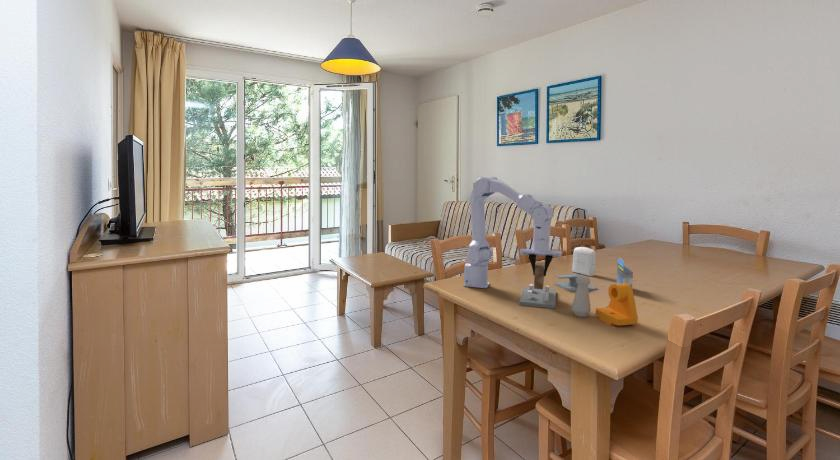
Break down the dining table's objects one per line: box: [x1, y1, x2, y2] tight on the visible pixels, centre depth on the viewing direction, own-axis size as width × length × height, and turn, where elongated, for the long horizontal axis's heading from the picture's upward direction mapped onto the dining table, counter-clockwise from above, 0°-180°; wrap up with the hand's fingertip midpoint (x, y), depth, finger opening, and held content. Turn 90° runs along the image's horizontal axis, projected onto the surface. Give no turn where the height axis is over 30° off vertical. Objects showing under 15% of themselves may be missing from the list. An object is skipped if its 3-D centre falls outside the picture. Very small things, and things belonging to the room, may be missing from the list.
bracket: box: [595, 283, 639, 326], centre depth 132 cm, size 11×7×12 cm, turn 15°
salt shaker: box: [571, 275, 591, 318], centre depth 137 cm, size 6×6×13 cm
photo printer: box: [571, 246, 597, 277], centre depth 192 cm, size 10×4×12 cm, turn 36°
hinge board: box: [519, 283, 557, 309], centre depth 155 cm, size 12×20×4 cm, turn 162°
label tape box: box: [616, 257, 634, 288], centre depth 167 cm, size 9×4×12 cm, turn 168°
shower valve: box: [553, 273, 598, 293], centre depth 171 cm, size 12×6×15 cm
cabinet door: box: [533, 262, 545, 290], centre depth 154 cm, size 4×12×7 cm, turn 162°
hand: (539, 275), depth 154 cm, fingers closed on cabinet door, 3 cm apart
